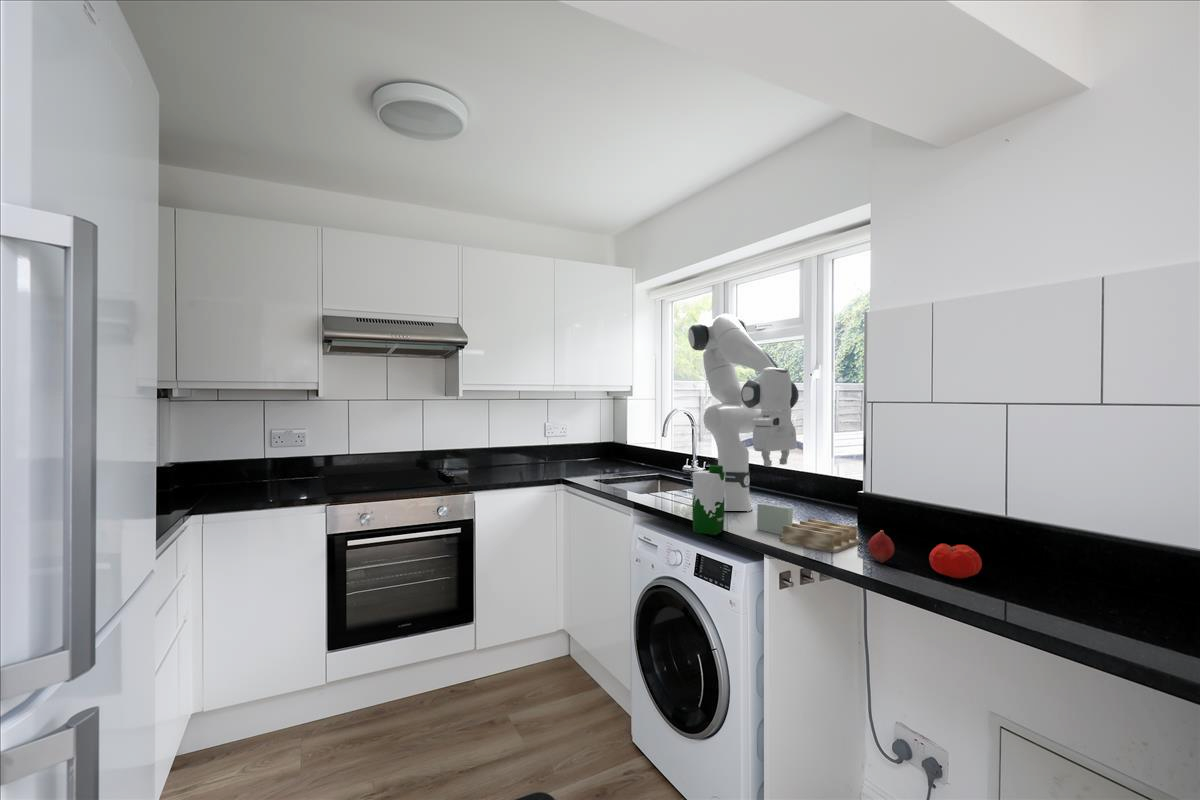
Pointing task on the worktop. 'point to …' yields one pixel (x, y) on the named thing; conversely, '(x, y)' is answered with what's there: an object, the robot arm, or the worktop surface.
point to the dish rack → (821, 535)
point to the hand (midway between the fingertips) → (775, 465)
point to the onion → (881, 546)
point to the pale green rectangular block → (774, 517)
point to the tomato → (955, 561)
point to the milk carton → (708, 500)
